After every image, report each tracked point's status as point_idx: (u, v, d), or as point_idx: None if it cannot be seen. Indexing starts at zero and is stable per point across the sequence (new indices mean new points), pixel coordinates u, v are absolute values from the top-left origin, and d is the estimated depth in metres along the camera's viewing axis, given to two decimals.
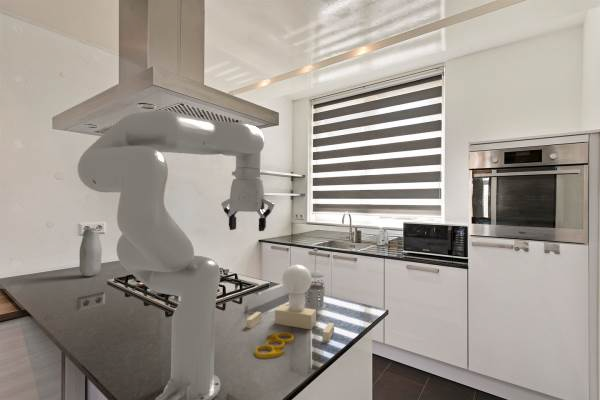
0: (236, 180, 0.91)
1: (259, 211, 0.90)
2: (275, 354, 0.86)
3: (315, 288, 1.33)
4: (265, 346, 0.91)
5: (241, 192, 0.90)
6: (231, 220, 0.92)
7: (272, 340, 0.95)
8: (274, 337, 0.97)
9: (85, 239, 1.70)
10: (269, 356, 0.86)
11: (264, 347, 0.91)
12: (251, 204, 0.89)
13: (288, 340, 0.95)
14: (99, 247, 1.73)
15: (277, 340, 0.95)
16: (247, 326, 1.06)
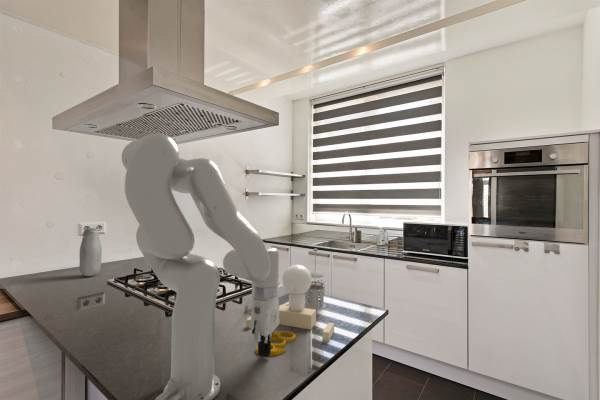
0: (269, 301, 0.82)
1: (271, 331, 0.87)
2: (276, 352, 0.87)
3: (315, 288, 1.33)
4: None
5: (272, 312, 0.84)
6: None
7: (274, 338, 0.96)
8: (276, 335, 0.98)
9: (85, 239, 1.70)
10: None
11: None
12: (277, 320, 0.87)
13: (289, 338, 0.96)
14: (99, 247, 1.73)
15: (279, 338, 0.96)
16: (247, 326, 1.06)
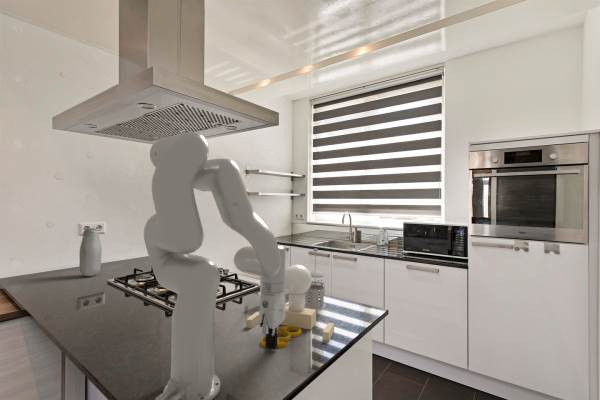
0: (276, 295, 0.87)
1: None
2: (278, 345, 0.92)
3: (315, 288, 1.33)
4: None
5: (279, 306, 0.89)
6: None
7: (280, 332, 1.01)
8: (283, 330, 1.03)
9: (85, 239, 1.70)
10: None
11: None
12: (283, 314, 0.92)
13: (295, 333, 1.00)
14: (99, 247, 1.73)
15: (284, 332, 1.00)
16: (247, 326, 1.06)
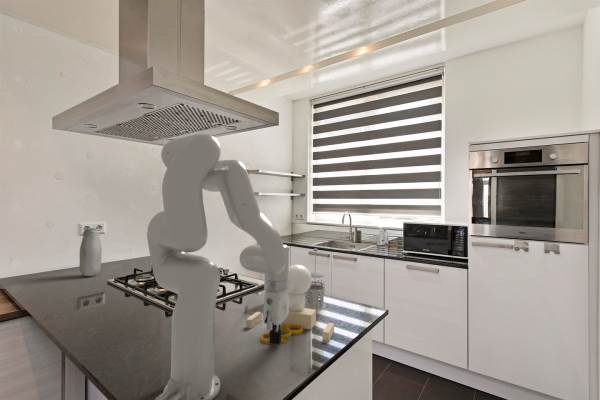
0: (280, 293, 0.90)
1: None
2: None
3: (315, 288, 1.33)
4: None
5: (283, 303, 0.91)
6: None
7: (281, 329, 1.03)
8: (285, 327, 1.05)
9: (85, 239, 1.70)
10: None
11: None
12: (287, 311, 0.95)
13: (295, 331, 1.01)
14: (99, 247, 1.73)
15: (286, 330, 1.03)
16: (247, 326, 1.06)
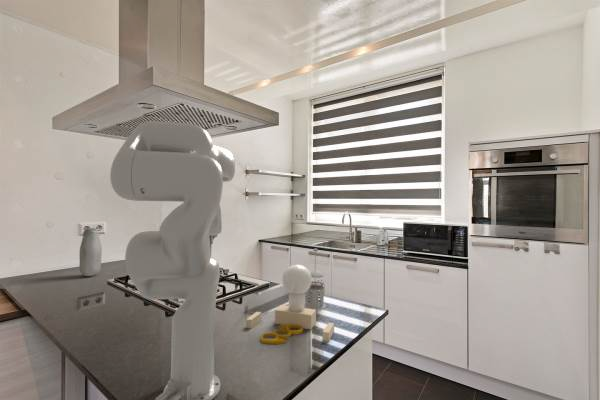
0: None
1: (212, 237, 0.94)
2: (277, 341, 0.94)
3: (315, 288, 1.33)
4: (272, 334, 0.99)
5: None
6: None
7: (281, 329, 1.03)
8: (285, 327, 1.05)
9: (85, 239, 1.70)
10: (271, 342, 0.94)
11: (271, 334, 0.99)
12: (218, 227, 0.95)
13: (295, 331, 1.01)
14: (99, 247, 1.73)
15: (286, 330, 1.03)
16: (247, 326, 1.06)
